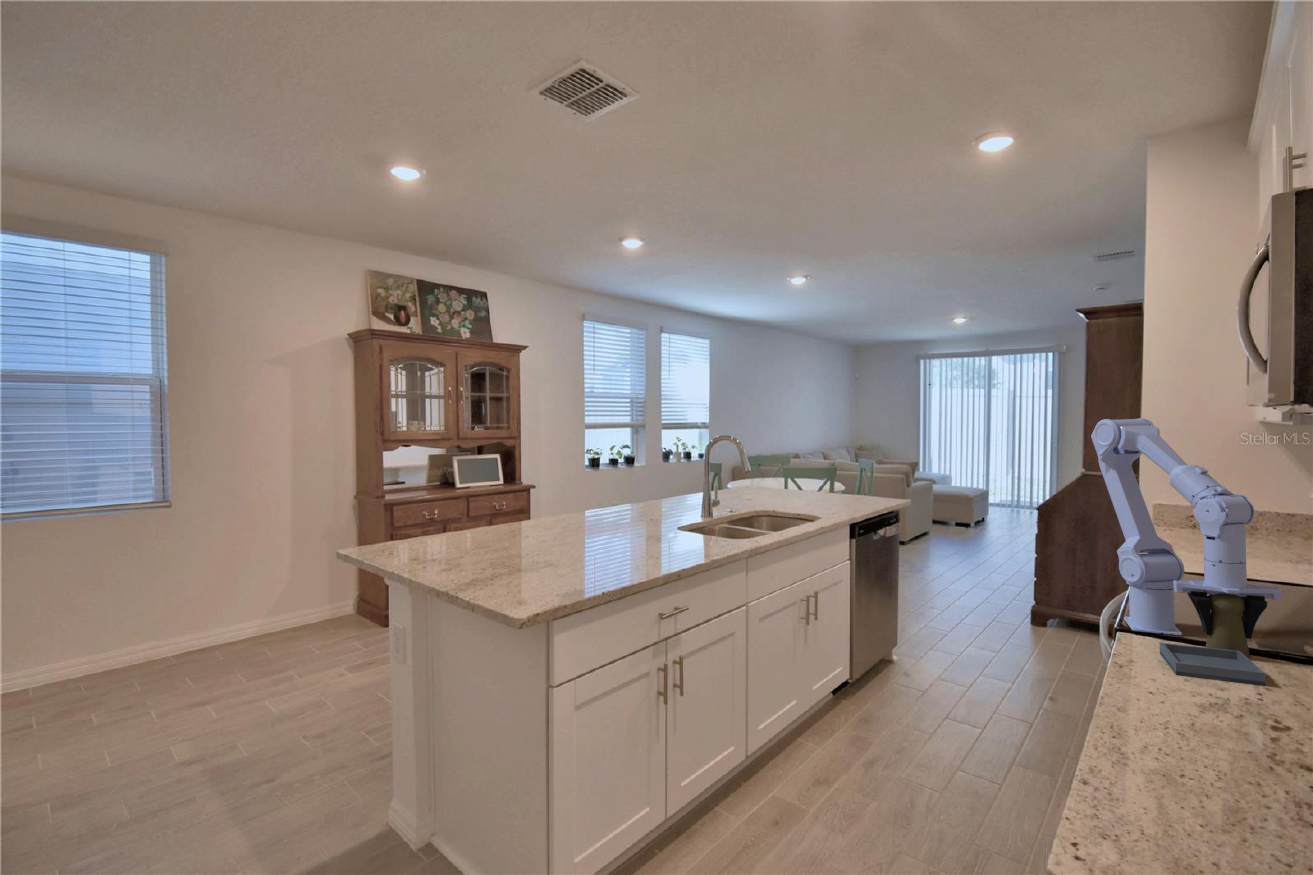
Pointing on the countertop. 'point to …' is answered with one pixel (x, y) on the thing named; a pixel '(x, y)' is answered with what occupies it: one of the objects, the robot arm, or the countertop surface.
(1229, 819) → the countertop surface
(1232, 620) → the cork
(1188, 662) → the tray
